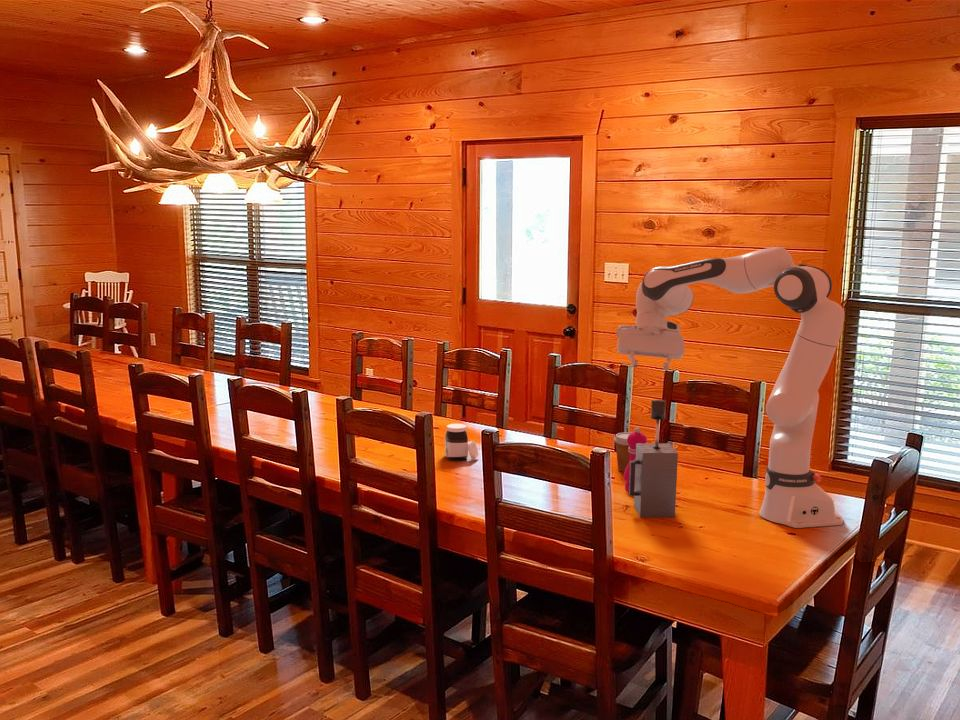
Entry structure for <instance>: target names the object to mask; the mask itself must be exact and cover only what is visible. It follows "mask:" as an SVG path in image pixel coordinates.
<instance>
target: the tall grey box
mask: <svg viewBox="0 0 960 720" xmlns="http://www.w3.org/2000/svg"><path fill="white" fill-rule="evenodd" d="M678 460H679V453H678V451H677V450H676V449H675V448H674V446H673V445H672V443H669V442H668V443H664V442H663V443H660V442H659V448H658V449H655V442H654V443H652V442H650V443H636V459H634V461H630V477H629V491H628V495H629V496H630V497H631V496H634V497H633V507H634V508H635V510H636V512H637V514H638V516H639V518H676V506H677V505H676V504H677V503H676V502H677V482H678V481H677V480H678ZM634 482H635V490H634Z"/></svg>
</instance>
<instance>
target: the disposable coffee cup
mask: <svg viewBox="0 0 960 720" xmlns="http://www.w3.org/2000/svg"><path fill="white" fill-rule="evenodd" d="M631 433H632V432H628V431H627V432H618V433H616V434H615V436H614V439H613V440H614V442H615V451H616V460H617V470H618V471H619V472H621V471H622V472H621V473H624V472H625V469H626V467H627V465H628V463H629V460H630V452H628V450H629V449H628V448H629V447H630V446H629V445H628V443H627V438H628V436H629V434H631Z"/></svg>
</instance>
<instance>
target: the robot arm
mask: <svg viewBox="0 0 960 720" xmlns="http://www.w3.org/2000/svg"><path fill="white" fill-rule="evenodd" d="M698 283H706V284H711V285H714V286H717V287H719V288H722V289H724V290H726V291H727V292H730V293H733V294H736V295H737V294H738V295H739V294H740V295H743V294H751V293H754V292H758V291H760V290H763V289H767V288H771V287H773V292H774V294H775V297H776V298H777V299H778V300H779V302H781V303H782V304H783V305H785V306H786V307H787V308H790V309H791V310H792V311H793V312H794V313H796V314H800V315H801V316H800V317H801V318H800V322H799V326H798V329H797V330H796V333H795V336H794V339H793V341H792V344H791V347H790V351H789V353H788V356H787V358H786V360H785V362H784V365H783V367H782V369H781V371H780V372H779V375H778V377H777V379H776V381H775V383H774V386H773V388H772V390H771V393H770V395H769V397H768V399H767V402H766V404H765V412H766V413H765V414H766V416H767V418H768V420H769V421H770V422H772V424H773V429H772V432H771V436H770V440H769V449H768V451H769V452H768V463H767V464H768V465H767V466H766V470H765V471H766V472H765V478H764V479H765V480H764V481H765V492H764V496H763V501H762V504H761V506H760V509H759V516H760V517H762V518H763V519H765V520H768V521H770V522H773V523H776V524H781V525H785V526H788V527H791V528H796V529H801V528H802V529H803V528H815V527H829V526H840V525H843V523H844V521H843V516H842V515H841V514H840V513H839V512H838V511H837V510H835V509H836V508H835V507H836V506H835V502H834V500H833V498H832V497H831V495H829V494H828V492H826V491H825V490H824V489H822V488H821V487H820V486H819V485H818V484H817V483H821V481H822V479H823V478H822V476H821V474H818V473H815V472H814V471H813V470H810V462H811V450H812V440H813V436H814V432H815V425H816V421H817V414H818V409H819V401H820V393H819V390H820V387H821V385H822V382H823V381H824V379H825V377H826V375H827V373H828V371H829V368H830V366H831V364H832V360H833V358H834V355H835V353H836V350H837V346H838V344H839V342H840V338H841V335H842V332H843V326H844V322H845V314H846V313H845V311H844V308H843V307H842V306H841V305H840V304H839V303H838V302H836V301H833V300H831V299H829V297H830V295H831V293H832V291H833V281H832V278H831V276H830V275H829V273H828V272H826V271H825V270H823V269H822V268H820V267H816V266H812V265H807V264H804V263H802V264H801V263H800V264H797V265H796V263H795V262H794V260H793V256H792V255H791V254H790V252H789V251H788V250H787V249H786V248H784V247H781V246H775V247H774V246H772V247H767V248H763V249H757V250H754V251H751V252H747V253H744V254H740V255H736V256H730V257H719V258H718V257H716V258H715V257H714V258H706V259H701V260H696V261H691V262H688V263H683V264H679V265H673V266H656V267H653V268H651V269H650V270H648V271H647V272H646V273H645V275H644V276H643V278H642V281H641V282H640V283H639V285H638V287H637V290H636V297H635V309H636V317H635V325H627V324H621V325H619V326H618V327H617V328H616V336H617V337H618V338H617V343H616V351H617V352H618V354H623V355H627V356H628V359H629V361H630V362H631V367H632V368H638V365H639V360H638V359H635V356H642V357H651V358H652V357H653V358H663V359H666V362H664V363H663V364H662V370H663V371H669V370H670V364H671V363H672V360H673V359H674V360H680V359H682V358H683V357H684V355H685V351H686V350H685V342H684V337H683V335H682V334H681V333H680V332H681V325H680V324H678V323H675V322H673V321H671V320H668V319H667V318H665V317H672V316H677V315H682V314H684V313H686V312H687V311H688V310H690V309H691V306H692V305H693V303H694V300H695V298H694V297H695V295H694V292H693V290H692V288H690V286H688V285H693V284H698ZM815 482H816V483H815Z"/></svg>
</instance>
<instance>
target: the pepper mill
mask: <svg viewBox="0 0 960 720" xmlns="http://www.w3.org/2000/svg"><path fill="white" fill-rule="evenodd" d="M630 433H631V434H629V436H628V438H627V443H628V445H629V446H630V447H629V448H628V449H629V450H628V452H630V460H629V463H628V465H627V467H626V469H625V472H623V478H624V480H625V481H626V482H625V483H624V489H625V490H626V491H627V492H629V477H630V461H634V459H636V443H647V441H648V439H647V436H646V435H645V433H643V432H641V428H640V427H635V428H634V431H633V432H630ZM634 490H635V482H634Z"/></svg>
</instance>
